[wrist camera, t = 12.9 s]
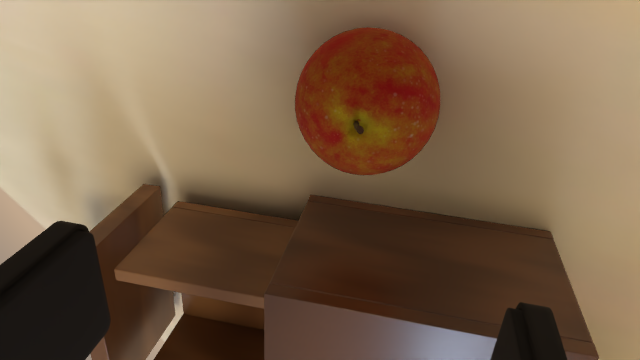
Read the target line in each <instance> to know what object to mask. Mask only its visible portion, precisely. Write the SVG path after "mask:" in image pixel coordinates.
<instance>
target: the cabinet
mask: <svg viewBox="0 0 640 360" xmlns="http://www.w3.org/2000/svg"><path fill="white" fill-rule="evenodd" d="M520 302H522V303H528V304H534V305H539V306H545V307H549V308H551V310H552V312H553V315H554V318H555V321H556V324H557V328H558V331H559V334H560V337H561V340H562V344H563V347H564V350H565V353H566V357H567V360H598V359H599V355H598V353H597V350H596V348H595V345H594V344H593V341H592V338H591V336H590V333H589V331H588V328H587V325H586V323H585V320H584V318H583V315H582V312H581V310H580V307H579V305H578V302H577V299H576V297H575V294H574V292H573V289H572V286H571V284H570V281H569V279H568V276H567V273H566V271H565V268H564V266H563V263H562V261H561V258H560V255H559V253H558V250H557V248H556V245H555V242H554V240H553V236H552V234H551V232H550V231H543V230H537V229H530V228H524V227H517V226H511V225H504V224H498V223H491V222H485V221H478V220H472V219H465V218H459V217H452V216H446V215H439V214H433V213H426V212H420V211H413V210H407V209H400V208H394V207H387V206H381V205H374V204H368V203H361V202H355V201H348V200H342V199H335V198H329V197H322V196H315V195H310V197H309V199H308V201H307V203H306V206H305V208H304V210H303V212H302V214H301V216H300V219H299V221H298V223H297V225H296V227H295V229H294V231H293V234H292V236H291V238H290V240H289V242H288V244H287V246H286V249H285V251H284V253H283V255H282V257H281V259H280V262H279V264H278V266H277V268H276V270H275V272H274V274H273V277H272V279H271V281H270V283H269V285H268V287H267V289H266V291H265V293H264V360H490V359H491V356H492V353H493V350H494V347H495V344H496V341H497V337H498V334H499V331H500V328H501V325H502V322H503V319H504V315H505V312H506V310H507V308H514V309H516V307H517V305H518V304H519V303H520Z"/></svg>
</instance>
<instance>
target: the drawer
mask: <svg viewBox="0 0 640 360" xmlns="http://www.w3.org/2000/svg"><path fill="white" fill-rule="evenodd" d="M297 223H298V221H297V220H291V219H285V218H279V217H272V216H266V215H260V214H254V213H248V212H242V211H236V210H230V209H223V208H217V207H211V206H205V205H199V204H193V203H187V202H180V201H177V202H176V203H175V204H174V206H173V207H172V208H171V209H170V210H169V211H168V212H167V213H166V214H165V215H163V207H162V198H161V190H160V186H154V185H147V184H143V185H142V186H141V187H140V188H139V189H137V190H136V191H135V192H134V193H133V194H132V195H131V196H130V197H128V198H127V199H126V200H125V201H124V202H123V203H122V204H120V205H119V206H118V207H117V208H116V209H115V210H114V211H112V212H111V213H110V214H109V215H108V216H107V217H106V218H104V219H103V220H102V221H101V222H100V223H99V224H98V225H96V226H95V227H94V228H93V229H92V230H91V231H90V233H92V234H93V236H94V240H95V244H96V249H97V254H98V259H99V264H100V269H101V274H102V278H103V283H104V288H105V293H106V298H107V303H108V308H109V312H110V318H111V322H110V326H109V329H108V331H107V333H106V334H105V336H104V337H103V338H102V339H101V341H100V342H99V343H98V344H97V346H96V347H95V348H94V349H93V351H92V352H91V353H90V354H91V358H92V360H146V358H147V356H148V355H149V354H150V352H151V350H152V349H153V348H154V346H155V345H156V343H157V342H158V340H159V339H160V337H161V336H162V334H163V333H164V331H165V330H166V328H167V327H168V325H169V324H170V322H171V321H172V319H173V318H174V316H175V307H174V299H173V291H175V292H180V293H182V302H183V311H184V314H183V315H182V317H181V319H180V320H179V322H178V323H177V325H176V326H175V328H174V329H173V331H172V332H171V334H170V335H169V337H168V339H167V340H166V342H165V343H164V345H163V346H162V348H161V349H160V351H159V352H158V354H157V355H156V357H155V359H154V360H264V293H265V291H266V289H267V287H268V285H269V283H270V281H271V279H272V277H273V274H274V272H275V270H276V268H277V266H278V264H279V262H280V259H281V257H282V255H283V253H284V251H285V249H286V246H287V244H288V242H289V240H290V238H291V236H292V234H293V231H294V229H295V227H296V225H297Z"/></svg>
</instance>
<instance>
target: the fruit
mask: <svg viewBox="0 0 640 360" xmlns="http://www.w3.org/2000/svg"><path fill="white" fill-rule="evenodd" d="M439 110H440V89H439V83H438V79H437V76H436V73H435V71H434V68H433V66H432V65H431V63H430V61H429V59H428V58H427V56H426V55H425V54H424V53H423V52H422V50H421V49H420V48H419V47H418V46H416V45H415V44H414V43H413V42H412V41H410V40H409V39H407V38H405V37H404V36H402V35H400V34H398V33H395V32H393V31H390V30H385V29H381V28H370V27H367V28H357V29H353V30H349V31H345V32H343V33H341V34H339V35H336V36H334V37H333V38H331V39H330V40H328V41H327V42H325V43H324V44H323V45H322V46H320V47H319V48H318V49H317V50H316V51H315V52H314V54H313V55H312V56H311V57H310V59H309V60H308V61H307V63H306V65H305V67H304V69H303V71H302V73H301V75H300V78H299V81H298V84H297V90H296V96H295V111H296V117H297V122H298V125H299V128H300V131H301V133H302V135H303V137H304V139H305V141H306V142H307V143H308V145H309V146H310V148H311V149H312V150H313V151H314V152H315V153H316V154H317V156H318V157H320V158H321V159H322V160H323V161H324V162H326V163H327V164H329V165H331V166H332V167H334V168H336V169H338V170H341V171H343V172H346V173H350V174H357V175H374V174H380V173H385V172H388V171H391V170H394V169H396V168H398V167H400V166H402V165H404V164H405V163H407V162H408V161H410V160H411V159H413V158H414V157H415V156H416V155H417V154H418V153H419V152H420V151H421V150H422V148H423V147H424V146H425V144H426V143H427V142H428V140H429V139H430V137H431V135H432V133H433V131H434V129H435V126H436V123H437V120H438V116H439Z"/></svg>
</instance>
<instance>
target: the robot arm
mask: <svg viewBox="0 0 640 360" xmlns="http://www.w3.org/2000/svg"><path fill="white" fill-rule="evenodd" d="M110 322H111V318H110V312H109V308H108V303H107V298H106V293H105V288H104V283H103V278H102V274H101V269H100V264H99V259H98V254H97V249H96V244H95V240H94V236H93V234H92V233H90V232H89V230H88V228H87V227H86V226H85V225H82V224H76V223H70V222H65V221H58V222H56V223H54V224H53V225H51V226H50V227H49V228H47V229H46V230H45V231H43V232H42V233H41V234H40V235H38V236H37V237H36V238H34V239H33V240H32V241H31V242H29V243H28V244H27V245H25V246H24V247H23V248H22V249H21V250H19V251H18V252H16V253H15V254H14V255H13V256H12V257H10V258H9V259H7V260H6V261H5V262H4V263H2V264H1V265H0V360H85V359H86V358H87V357H88V355H89V354H90V353H91V352H92V351H93V349H94V348H95V347H96V346H97V344H98V343H99V342H100V341H101V339H102V338H103V337H104V336H105V334H106V333H107V331H108V329H109V326H110ZM490 360H567V357H566V353H565V350H564V347H563V344H562V340H561V337H560V334H559V331H558V328H557V324H556V321H555V318H554V315H553V312H552V310H551V308H549V307H545V306H539V305H534V304H528V303H522V302H520V303H519V304H518V305H517V307H516V309H514V308H507V310H506V312H505V315H504V319H503V322H502V325H501V328H500V331H499V334H498V337H497V341H496V344H495V347H494V350H493V353H492V356H491V359H490Z"/></svg>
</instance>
